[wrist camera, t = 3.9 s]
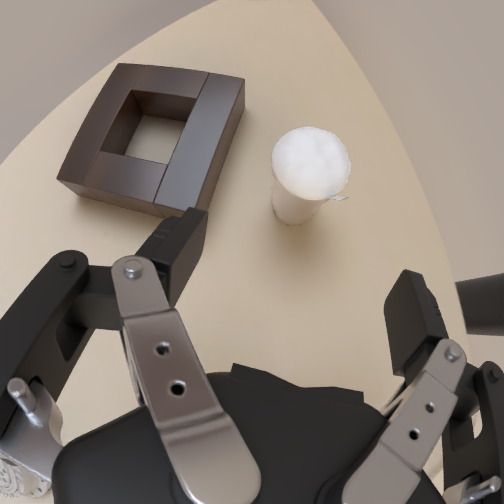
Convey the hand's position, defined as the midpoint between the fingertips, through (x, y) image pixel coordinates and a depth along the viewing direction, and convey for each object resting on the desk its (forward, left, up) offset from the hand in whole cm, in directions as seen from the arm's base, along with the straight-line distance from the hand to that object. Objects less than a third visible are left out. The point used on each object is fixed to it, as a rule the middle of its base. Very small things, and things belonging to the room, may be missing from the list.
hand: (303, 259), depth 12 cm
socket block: (+4, -15, -12) cm, 19 cm away
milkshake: (-4, -5, -12) cm, 14 cm away
